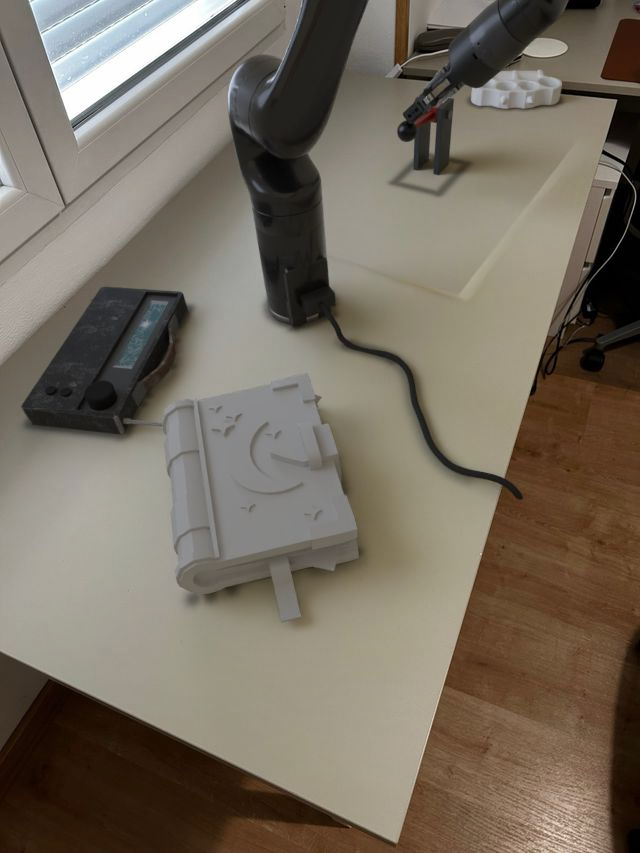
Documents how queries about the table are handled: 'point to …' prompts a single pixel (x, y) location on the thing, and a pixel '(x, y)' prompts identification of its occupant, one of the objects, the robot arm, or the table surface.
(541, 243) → the table surface
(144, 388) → the radio
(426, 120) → the lever
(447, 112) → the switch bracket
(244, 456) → the book
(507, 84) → the white muffin tray
